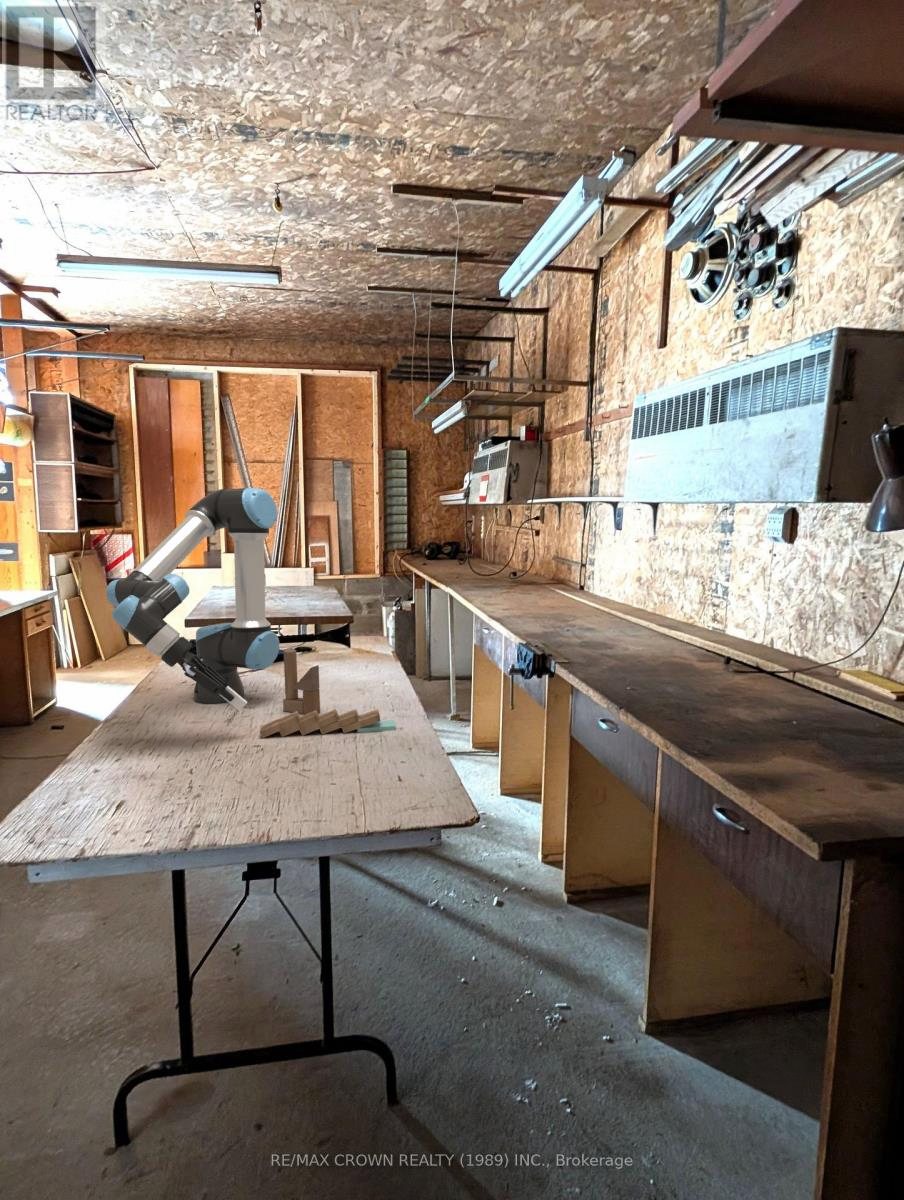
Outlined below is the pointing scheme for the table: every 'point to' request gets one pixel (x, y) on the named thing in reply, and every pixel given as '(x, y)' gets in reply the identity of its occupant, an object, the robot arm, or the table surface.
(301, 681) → the wooden block
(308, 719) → the domino
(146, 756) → the table surface
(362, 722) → the domino
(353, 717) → the domino
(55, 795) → the table surface
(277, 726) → the domino
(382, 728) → the domino
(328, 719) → the domino
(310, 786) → the table surface
